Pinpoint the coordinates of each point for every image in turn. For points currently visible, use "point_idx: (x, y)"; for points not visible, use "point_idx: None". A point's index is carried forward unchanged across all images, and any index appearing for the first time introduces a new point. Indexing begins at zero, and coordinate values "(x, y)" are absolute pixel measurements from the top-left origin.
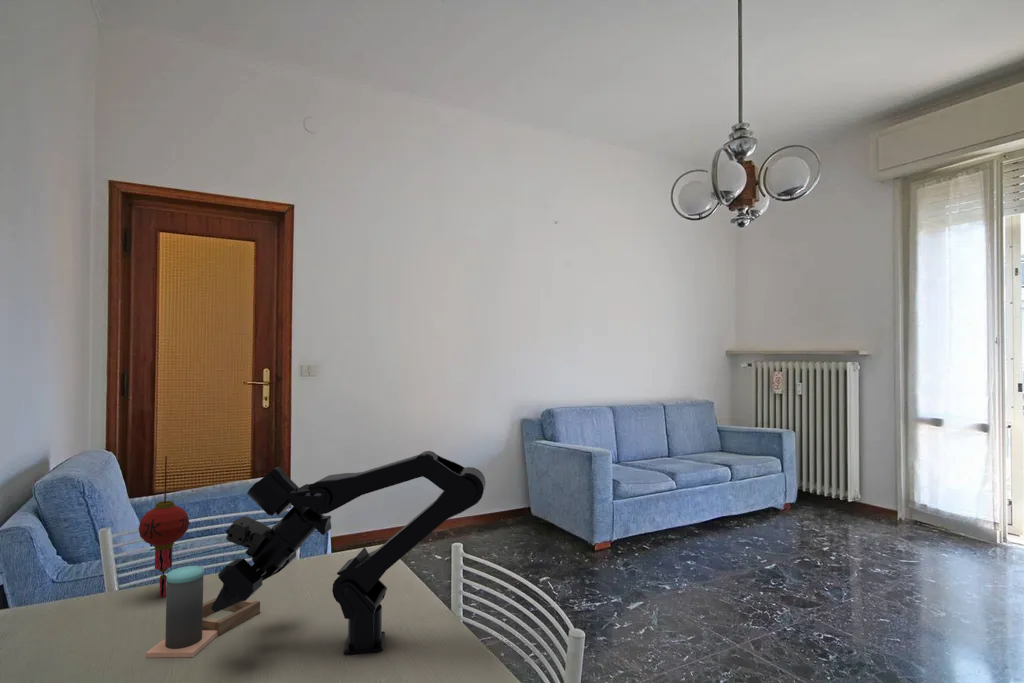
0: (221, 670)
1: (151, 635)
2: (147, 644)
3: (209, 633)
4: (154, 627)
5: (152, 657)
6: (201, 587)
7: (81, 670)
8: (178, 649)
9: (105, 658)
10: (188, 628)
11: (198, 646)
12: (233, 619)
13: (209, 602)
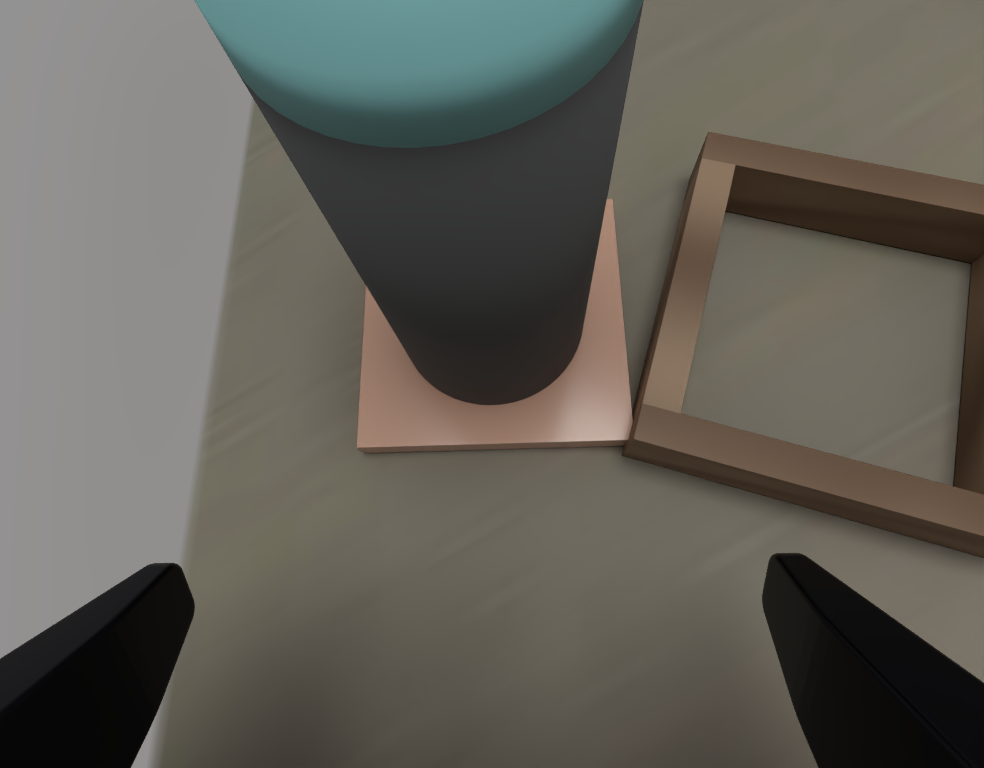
0: (202, 711)
1: None
2: None
3: (587, 408)
4: (685, 71)
5: None
6: (460, 234)
7: None
8: (395, 347)
9: None
10: (403, 341)
11: (426, 436)
12: (752, 479)
13: (937, 192)
